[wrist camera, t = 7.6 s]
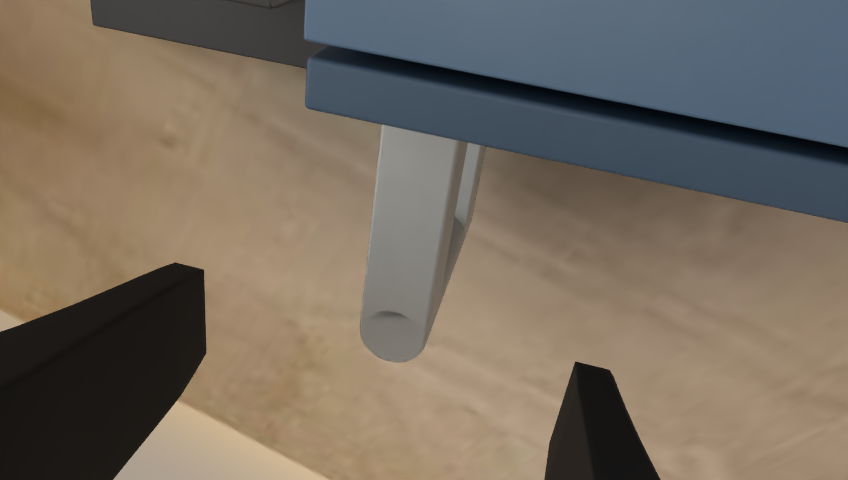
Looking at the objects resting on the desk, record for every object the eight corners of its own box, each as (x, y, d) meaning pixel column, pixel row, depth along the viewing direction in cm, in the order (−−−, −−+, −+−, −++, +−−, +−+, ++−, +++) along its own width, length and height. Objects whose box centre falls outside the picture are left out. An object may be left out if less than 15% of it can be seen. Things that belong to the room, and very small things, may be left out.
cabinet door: (871, 302, 19) (1068, 607, 11) (407, 198, 21) (289, 396, 13) (999, 76, 16) (1404, 276, 8) (438, -25, 18) (304, 56, 10)
